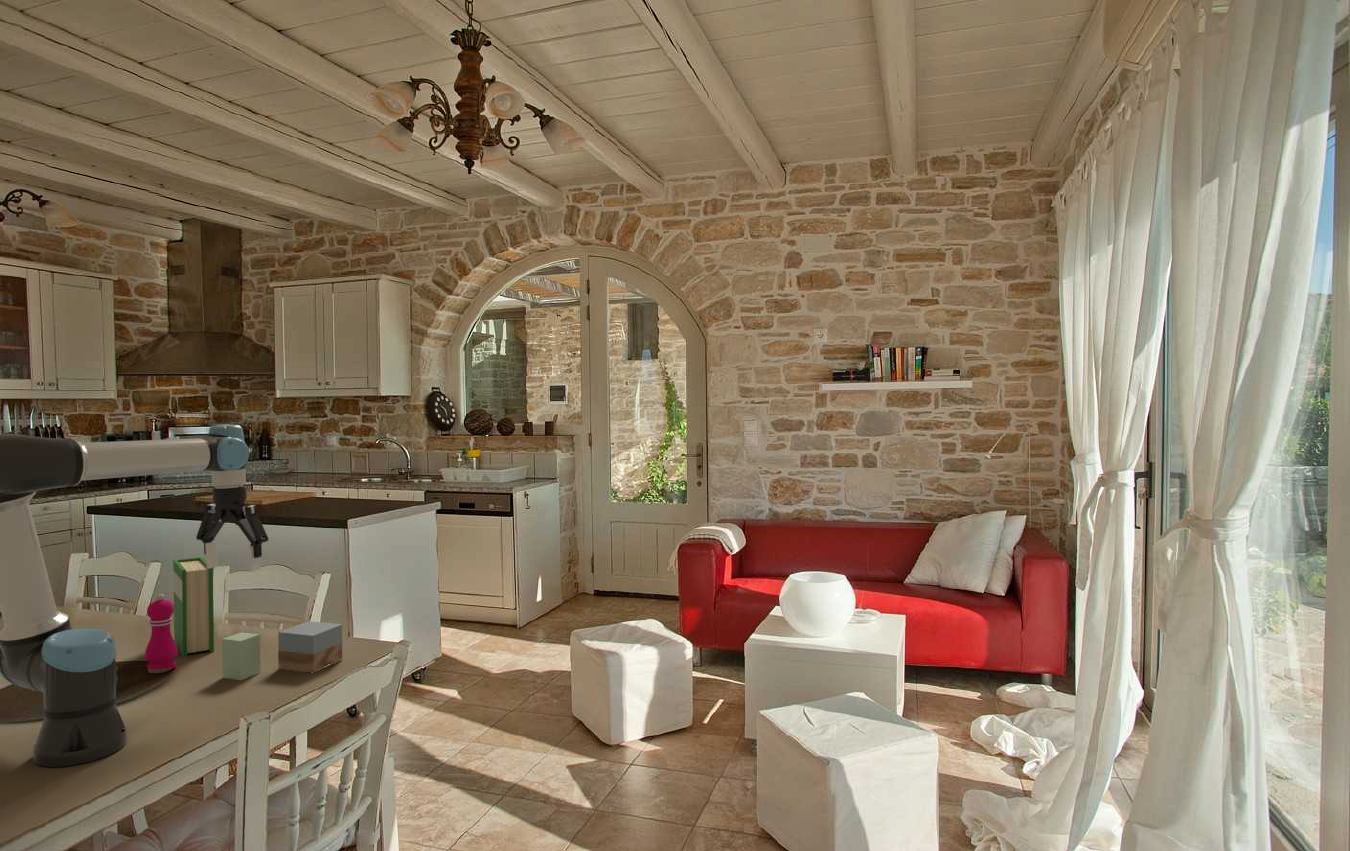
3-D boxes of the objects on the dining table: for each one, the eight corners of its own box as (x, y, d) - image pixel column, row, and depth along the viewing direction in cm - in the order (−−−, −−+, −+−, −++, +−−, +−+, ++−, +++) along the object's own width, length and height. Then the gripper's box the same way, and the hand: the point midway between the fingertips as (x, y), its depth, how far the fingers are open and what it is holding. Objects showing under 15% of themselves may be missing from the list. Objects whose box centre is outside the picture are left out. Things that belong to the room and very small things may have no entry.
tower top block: (313, 654, 206) (313, 635, 206) (278, 651, 209) (278, 632, 209) (342, 642, 217) (342, 624, 217) (308, 639, 220) (308, 621, 220)
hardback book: (213, 651, 224) (212, 566, 223) (183, 657, 219) (181, 570, 218) (203, 637, 237) (202, 557, 237) (174, 641, 233) (173, 560, 232)
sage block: (241, 680, 201) (241, 641, 201) (222, 677, 203) (222, 638, 202) (260, 672, 207) (259, 634, 207) (241, 670, 208) (241, 632, 208)
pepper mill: (161, 675, 204) (160, 598, 204) (137, 673, 206) (136, 596, 205) (184, 666, 211) (183, 591, 211) (161, 664, 213) (160, 590, 212)
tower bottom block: (313, 674, 206) (312, 655, 206) (278, 670, 209) (278, 651, 209) (342, 661, 217) (342, 643, 217) (308, 657, 220) (308, 639, 220)
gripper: (281, 485, 202) (285, 567, 203) (202, 482, 209) (206, 562, 210) (258, 489, 194) (262, 575, 196) (177, 486, 201) (182, 569, 203)
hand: (233, 568), depth 203 cm, fingers open, 13 cm apart
